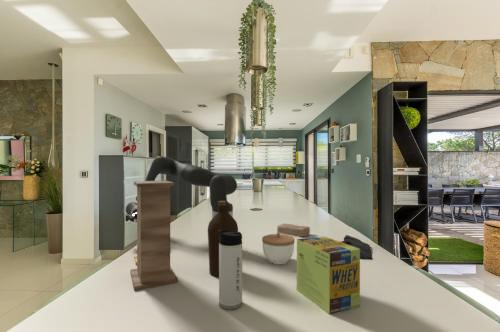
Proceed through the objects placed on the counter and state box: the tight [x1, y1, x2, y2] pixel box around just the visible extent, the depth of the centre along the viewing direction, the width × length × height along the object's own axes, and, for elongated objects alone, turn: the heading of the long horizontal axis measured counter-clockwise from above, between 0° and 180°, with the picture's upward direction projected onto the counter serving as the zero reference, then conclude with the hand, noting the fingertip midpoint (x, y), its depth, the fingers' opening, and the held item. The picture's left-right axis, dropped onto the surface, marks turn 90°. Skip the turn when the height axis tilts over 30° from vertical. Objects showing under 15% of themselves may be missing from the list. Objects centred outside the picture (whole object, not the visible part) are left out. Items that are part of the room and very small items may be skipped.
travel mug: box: [218, 230, 243, 311], centre depth 74 cm, size 6×7×20 cm
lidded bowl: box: [261, 232, 296, 265], centre depth 108 cm, size 13×13×11 cm
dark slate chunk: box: [341, 234, 373, 260], centre depth 122 cm, size 15×22×5 cm
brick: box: [276, 223, 311, 238], centre depth 151 cm, size 17×8×5 cm, turn 50°
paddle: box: [133, 253, 137, 266], centre depth 115 cm, size 21×8×2 cm, turn 27°
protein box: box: [296, 236, 361, 315], centre depth 78 cm, size 10×15×16 cm
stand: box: [130, 180, 179, 292], centre depth 92 cm, size 15×13×32 cm
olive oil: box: [207, 200, 239, 278], centre depth 97 cm, size 11×11×25 cm
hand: (143, 218), depth 125 cm, fingers open, 8 cm apart
